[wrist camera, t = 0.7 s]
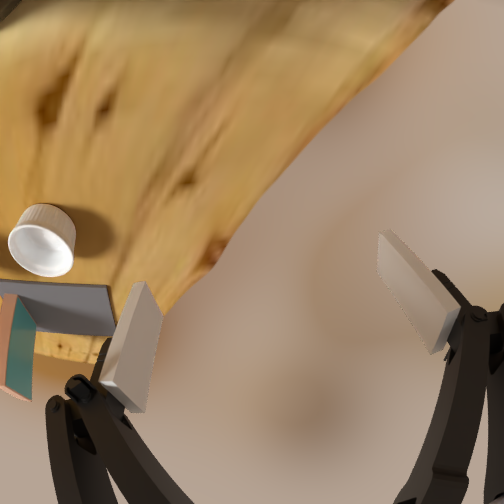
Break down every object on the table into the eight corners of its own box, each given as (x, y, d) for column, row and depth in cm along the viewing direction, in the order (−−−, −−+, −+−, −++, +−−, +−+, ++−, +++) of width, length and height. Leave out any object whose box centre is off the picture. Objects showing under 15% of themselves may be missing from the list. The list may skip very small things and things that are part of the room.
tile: (25, 323, 39) (19, 399, 29) (4, 293, 32) (-10, 382, 22) (37, 324, 40) (32, 401, 31) (17, 294, 33) (5, 386, 23)
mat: (26, 327, 41) (25, 329, 41) (-9, 278, 29) (-9, 280, 29) (117, 334, 50) (117, 336, 49) (106, 285, 37) (106, 287, 37)
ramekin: (49, 258, 30) (42, 284, 27) (7, 217, 23) (-5, 244, 20) (93, 236, 30) (88, 264, 27) (50, 185, 23) (37, 213, 20)
